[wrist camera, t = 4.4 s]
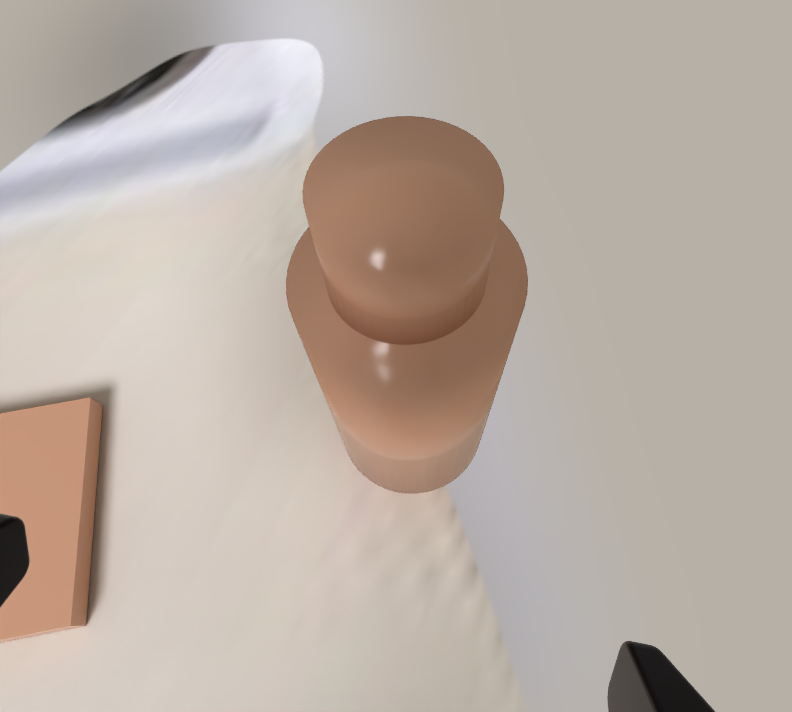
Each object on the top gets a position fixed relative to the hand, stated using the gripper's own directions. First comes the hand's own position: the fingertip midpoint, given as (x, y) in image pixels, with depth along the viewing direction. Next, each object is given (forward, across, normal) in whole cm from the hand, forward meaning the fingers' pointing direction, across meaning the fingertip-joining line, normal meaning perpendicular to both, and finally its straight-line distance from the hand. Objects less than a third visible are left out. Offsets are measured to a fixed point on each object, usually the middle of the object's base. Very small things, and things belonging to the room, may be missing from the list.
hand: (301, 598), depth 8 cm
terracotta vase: (+15, 0, +4) cm, 15 cm away
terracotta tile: (+10, +16, +9) cm, 21 cm away
